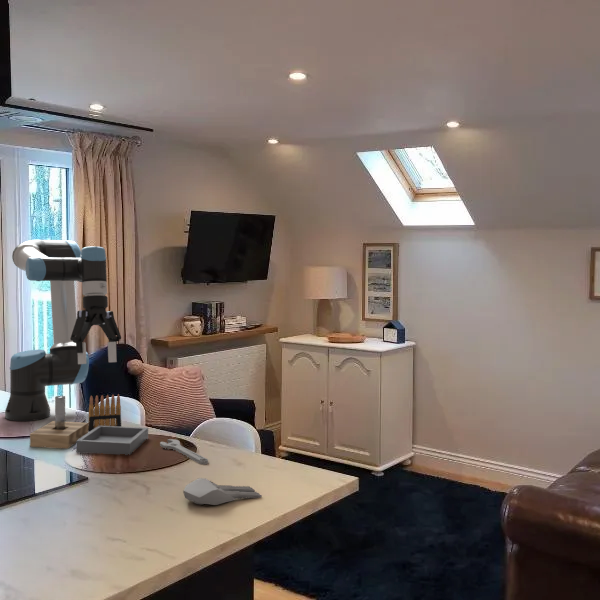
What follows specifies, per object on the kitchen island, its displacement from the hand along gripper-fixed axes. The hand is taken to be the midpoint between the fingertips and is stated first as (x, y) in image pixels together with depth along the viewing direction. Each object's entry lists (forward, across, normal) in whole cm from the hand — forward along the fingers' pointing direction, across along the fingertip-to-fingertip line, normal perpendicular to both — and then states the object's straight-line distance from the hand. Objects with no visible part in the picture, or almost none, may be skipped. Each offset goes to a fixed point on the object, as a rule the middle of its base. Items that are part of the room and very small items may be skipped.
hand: (97, 363), depth 222 cm
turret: (+36, -21, -57) cm, 70 cm away
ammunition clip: (+23, +14, +11) cm, 29 cm away
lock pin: (+24, -3, +14) cm, 28 cm away
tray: (+26, +2, -4) cm, 26 cm away
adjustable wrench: (+29, +6, -26) cm, 40 cm away
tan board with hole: (+24, -3, +14) cm, 28 cm away
